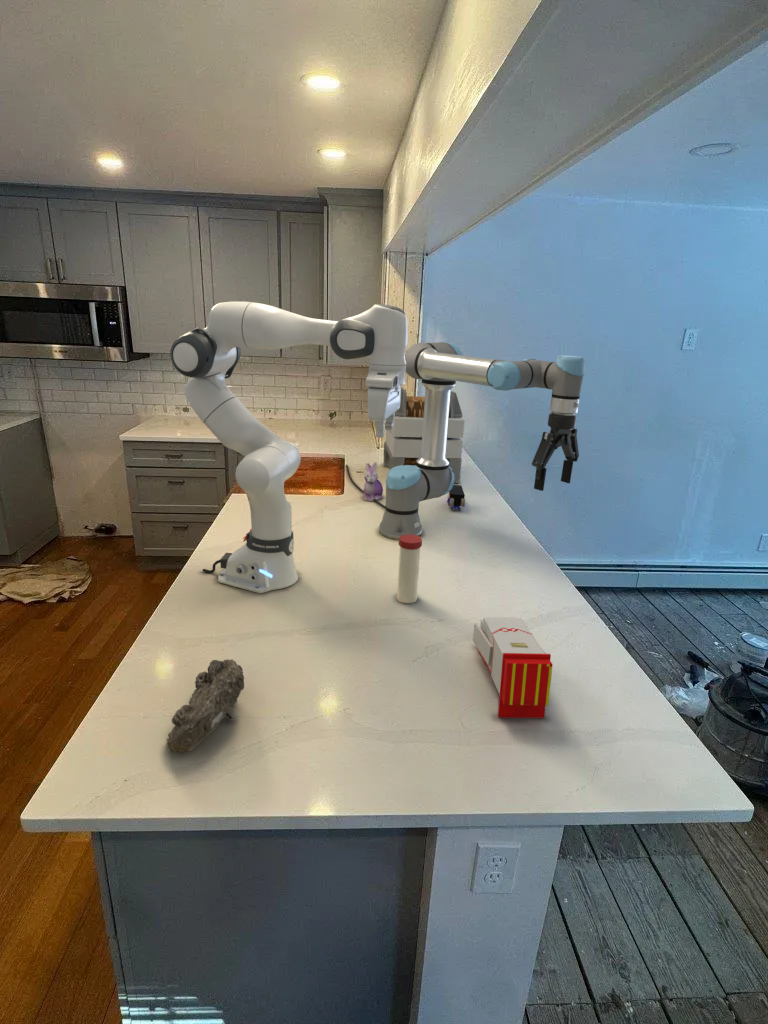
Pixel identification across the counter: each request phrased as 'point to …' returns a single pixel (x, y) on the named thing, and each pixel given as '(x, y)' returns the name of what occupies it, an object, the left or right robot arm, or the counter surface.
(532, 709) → the toy
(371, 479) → the figurine
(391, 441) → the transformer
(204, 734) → the fossil
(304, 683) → the counter surface
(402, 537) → the lid
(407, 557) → the jar
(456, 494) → the figurine character
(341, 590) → the counter surface
